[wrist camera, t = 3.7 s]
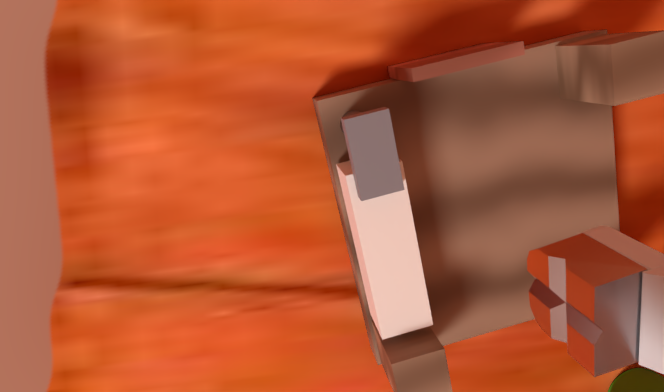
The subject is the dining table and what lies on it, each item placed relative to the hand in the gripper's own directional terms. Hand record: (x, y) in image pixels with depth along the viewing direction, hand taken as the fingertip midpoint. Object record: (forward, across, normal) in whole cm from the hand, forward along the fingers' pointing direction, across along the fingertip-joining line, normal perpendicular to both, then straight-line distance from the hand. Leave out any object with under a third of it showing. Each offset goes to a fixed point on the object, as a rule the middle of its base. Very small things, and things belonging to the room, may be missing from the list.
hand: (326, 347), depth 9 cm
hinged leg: (+23, +7, -9) cm, 26 cm away
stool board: (+25, +16, -11) cm, 31 cm away
